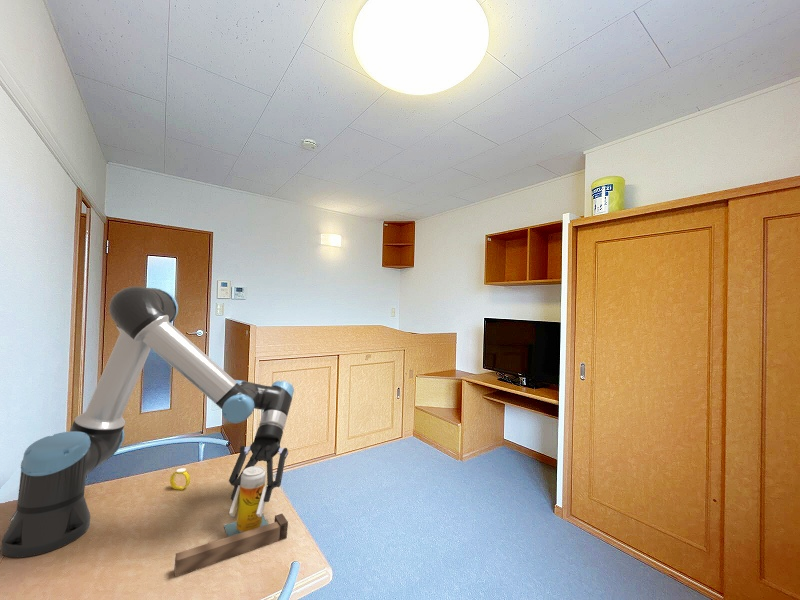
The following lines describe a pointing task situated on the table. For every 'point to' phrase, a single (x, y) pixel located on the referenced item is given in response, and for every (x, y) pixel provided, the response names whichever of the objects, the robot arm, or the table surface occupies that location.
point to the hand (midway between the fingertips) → (245, 514)
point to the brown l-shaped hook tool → (230, 546)
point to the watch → (180, 471)
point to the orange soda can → (250, 498)
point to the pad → (232, 529)
